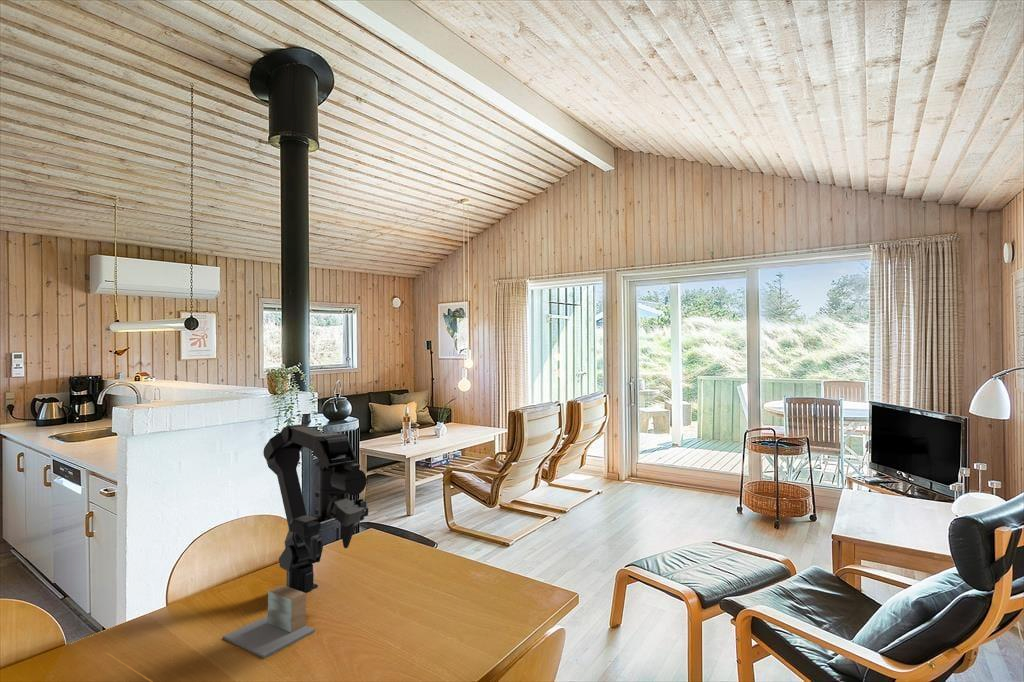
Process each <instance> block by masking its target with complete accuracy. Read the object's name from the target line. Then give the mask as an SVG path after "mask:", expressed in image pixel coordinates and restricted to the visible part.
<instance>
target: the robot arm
mask: <svg viewBox="0 0 1024 682" xmlns="http://www.w3.org/2000/svg"><path fill="white" fill-rule="evenodd" d="M304 448H307V449H309V450H311V451H312V456H314V457H315V458H317V459H318V461H317V462H316V463H315V465H314V466H315V467H316V468H319V469H318V470H319V472H318V473H319V474H318V476H319V477H318V491H316V492H314V495H315V496H314V497H316V498H318V508H316V509H315V510H314V514H315V515H318V516H311V515H308V513H307V509H306V505H305V499H304V496H303V492H302V487H301V484H300V479H299V475H298V471H297V470H298V469H297V468H298V465H299V462H300V459H301V454H300V453H301V451H302V450H303V449H304ZM262 452H263V457H264V459H265V461H266V464H267V467H268V468H269V470H271V471H272V473H273V474H275V475H276V477H277V481H278V486H279V491H280V495H281V500H282V504H283V507H284V508H283V509H284V513H285V518H286V521H287V527H288V530H287V531H288V532H287V535H286V537H285V540H284V547H285V548H284V550H283V551H282V553H281V555H279V558H278V563H279V568H281V569H283V570H284V571H286V585H285V586H288V587H290V588H293V589H296V590H299V591H302V592H304V593H308V592H310V591H312V590H314V589H316V588H318V587H319V585H318V584H317V583H315V581H314V576H315V575H314V574H315V573H314V564H316V563H320V561H321V559H322V554H323V549H324V543H323V539H322V537H321V534H322V532H321V531H320V529H321V525H325V524H327V523H330V522H333V521H337V522H339V523H340V529H341V530H340V532H341V540H342V545H343V548H344V549H348V548H349V545H350V543H351V541H352V537H353V535H354V532H355V530H356V528H357V525H359V524H360V522H362V521H364V520H365V517H367V516H369V507H368V505H367V500H366V499H364V498H363V497H360V498H358V499H356V500H354V499H353V500H350V497H349V495H350V496H358V495H360V494H361V493H362V492H363V491H364V490H365V489H366V487H367V484H368V478H367V476H366V473H365V472H364V471H363V470H361V469H360V464H359V463H358V460H357V454H356V453H355V451H354V449H353V447H352V444H351V441H350V439H349V437H348V436H347V434H345V433H323V432H321V431H319V430H315V429H312V428H309V427H307V426H305V425H303V424H292V425H286V426H284V427H283V428H281V431H280V432H278V433H277V434H275V435H274V436H273V437H271V438H270V439H269V440H268V441H267V442H266V444H265V445H264V449H263V451H262Z"/></svg>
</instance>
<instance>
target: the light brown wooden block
mask: <svg viewBox="0 0 1024 682" xmlns="http://www.w3.org/2000/svg"><path fill="white" fill-rule="evenodd" d="M267 593H268V594H267V595H268V596H267V616H268V623H269V624H272V625H274V626H276V627H279V628H281V629H283V630H286V631H288V632H290V633H292V632H294V631H296V630H298V629H300V628H302V627H304V626H305V625H306V621H307V620H306V617H307V616H306V615H307V614H306V611H307V608H306V607H307V606H306V605H307V604H306V603H307V592H305V593H304V592H302V591H299V590H296V589H293V588H290V587H288V586H286V585H285V584H282V585H279V586H277V587H274V588H271V589H269V590H268V591H267Z"/></svg>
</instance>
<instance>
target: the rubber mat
mask: <svg viewBox="0 0 1024 682" xmlns="http://www.w3.org/2000/svg"><path fill="white" fill-rule="evenodd" d="M315 632H316V628H313V627H310V626H308V625H306V624H305V626H304V627H302V628H300V629H298V630H296V631H294V632H292V633H290V632H288V631H286V630H283V629H281V628H279V627H276V626H274V625H272V624H269V623H268V615H265V616H264V617H261V618H260V619H258V620H255V621H253V622H250V623H249V624H246V625H244V626H242V627H239V628H237V629H235V630H233V631H231V632H228V633H226V634H224V635H222V639H224V640H225V641H227V642H229V643H232V644H233V645H236V646H238V647H239V648H242V649H244V650H246V651H248V652H250V653H252V654H254V655H256V656H258V657H260V658H262V659H266V658H268V657H270V656H272V655H274V654H275V653H277V652H279V651H281V650H283V649H285V648H286V647H289V646H290V645H292V644H294V643H296V642H298V641H300V640H302V639H304V638H306V637H308V636H309V635H312V634H314V633H315Z"/></svg>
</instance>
